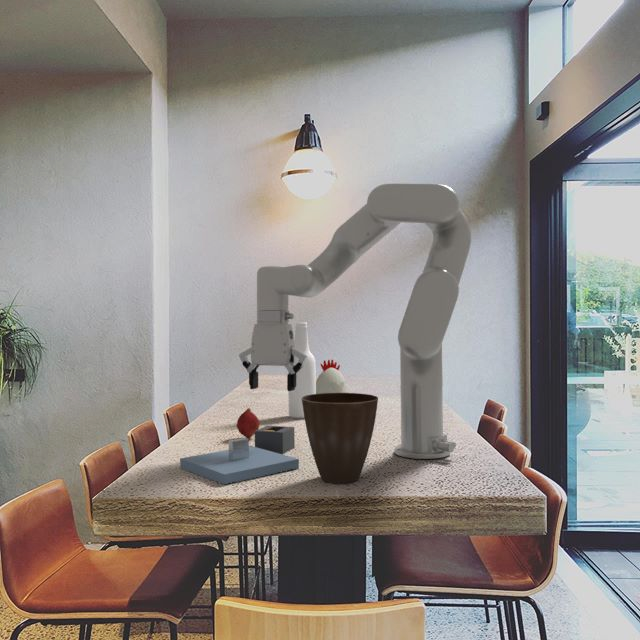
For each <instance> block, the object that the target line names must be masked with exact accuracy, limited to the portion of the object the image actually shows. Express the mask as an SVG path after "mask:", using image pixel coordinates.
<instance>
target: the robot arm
mask: <svg viewBox="0 0 640 640" xmlns="http://www.w3.org/2000/svg"><path fill="white" fill-rule="evenodd" d="M459 201H460V200H459V197H458V195H457V193H456V192H455V190H453V189H452V188H451V187H449V186H447V185H444V184H439V183H384V184H383V183H382V184H380V185H377V186H376V187H374V188H373V189H372V190H371V191H370V193H369V194H368V196H367V200H366V204H364V205H363V206H362V207H361V208H360V209H359V210H358V211H356V212H355V213H354V214H353V215H352V216H350V217H349V218H348V219H347V220H346V221H345V222H343V223H342V224H341V225H340V226H339V227H338V228H337V229H336V230H335V232H334V234H333V235H332V237H331V240H330V242H329V244H328V245H327V246H326V248H325V249H324V250H323V251H322V252H321V253H320V254H319V255H318V256H317V257H316V258H315V259H314V260H312V261H311V262H310V263H309V264H308V265H306V264H295V265H289V266H277V265H276V266H275V265H274V266H273V265H271V266H267V265H265V266H261V267H259V268H258V269H257V272H256V323H254V325H253V329H252V330H253V331H252V336H251V344H250V345H251V346H250V348H248V349H246V350H244V351H242V352H239V355H238V357H239V359H240V361H241V363H242V364H241V365H242V366H243V367H244V368H245V369H246V371H247V373H248V385H249V388H250V390H255V389H258V388H259V372H258V369H259V367H260V366H271V367H273V366H274V367H277V366H278V367H282V366H283V367H285V369H286V370H287V371H289V374H288V373H287V377H286V378H287V379H286V381H287V382H286V385H287V386H286V388H287V389H286V391H292V390H295V387H296V373H298V371H299V370H300V369H301V368H302V367H303V365H304V363H305V361H306V359H307V355H305V354H303V353H302V352H300V351H298V350H296V349H295V334H294V329H293V324H292V323H289V322H290V320H293V319H294V313H291V312H290V310H289V296H294V297H300V298H314V297H317V296H318V295H320V294H321V293H322V292H324V291H325V290H326V289H327V288H328V287H330V286H331V285H332V284H334V282H336V280H338V279H339V278H340V277H341V276H342V275H343V274H345V273H346V272H347V270H349V268H351V267H352V266H353V265H354V264H355V263H357V262H358V260H359V259H360V258H361V257H363V255H364V254H366V253H367V252H368V251H369V250H370V249H371V248H373V247H374V246H375V245H376V244H377V243H378V242H380V241H381V240H382V239H383V238H384V237H386V236H387V235H388V234H389V233H390V232H392V231H393V230H394V229H395V228H397V227H398V226H399V224H401V223H405V224H406V223H407V224H408V223H410V224H413V223H414V224H424V225H426V226H427V227H428V228H429V229H430V230H431V233H432V236H433V237H432V243H431V246H430V249H429V252H428V255H427V259H426V261H425V265H424V268H423V269H422V272H421V273H420V275H419V276H418V277H417V279H416V281H415V283H414V286H413V288H412V290H411V294H410V297H409V299H408V303H407V306H406V309H405V312H404V315H403V317H402V320H401V323H400V326H399V329H398V333H397V334H398V335H397V341H398V345H399V348H400V349H399V351H400V352H399V353H400V356H399V357H400V358H399V359H400V362H399V364H400V368H399V369H400V370H399V371H400V385H399V386H400V388H399V389H400V439H401V440H400V444H399V445H395V447H394V454H395V455H397V456H399V457H403V458H407V459H414V460H415V459H416V460H433V459H441V458H442V459H443V458H446V457H448V456H450V455H451V453H453V452H454V449H456V447H457V445H456V442H453V441H448V435H447V434H444V418H443V417H444V412H443V411H444V406H443V405H444V404H443V395H444V394H443V385H444V384H443V341H444V338H445V336H446V332H447V330H448V328H449V324H450V321H451V320H452V319H451V318H452V316H453V313H454V310H455V308H456V305H457V304H456V303H457V301H458V298H459V293H460V287H459V284H460V281H461V279H462V275H463V272H464V271H465V270H464V269H465V265H466V262H467V259H468V256H469V253H470V248H471V242H472V232H471V230H472V229H471V227H470V223H469V220H468V219H467V217H466V214H464V212H463V211H462V209H460V202H459ZM249 356H250V359H251V360H250V361H251V362H250V361H249V359H248V357H249ZM295 356H296V357H298V358H299V361H298V363H297V364H296V365H294V362H295Z"/></svg>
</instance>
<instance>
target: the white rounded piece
mask: <svg viewBox="0 0 640 640" xmlns="http://www.w3.org/2000/svg"><path fill="white" fill-rule="evenodd" d="M326 361H327V362H326ZM337 365H338V366H337ZM320 366H321V367H320V368H321V370H322V372H321V373H320V374H319V375H318V377H317V379H316V394H320V393H350V391H349V388H348V385H347V382H346V379H345V377H344V375H343V374H342V373H341V372H340V371H339V370H340V367H341V365H340V364H338V362H337V361H336V362H334V359H331V360H330V359H328V360H325V359H324V360H323V364H322V363H320Z"/></svg>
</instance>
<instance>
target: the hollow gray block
mask: <svg viewBox="0 0 640 640" xmlns="http://www.w3.org/2000/svg"><path fill="white" fill-rule="evenodd" d="M295 442H296V441H295V426H284V425H283V426H282V425H281V426H280V425H266V426H263V427H261V428H259V429H258V430H256V431H255V434H254V447H257V448H261V449H264V450H268V451H272V452H275V453H279V454H283V455H285V454H286V453H287V451H288V452H289V451H291V450H293V449H294V448H295ZM285 452H286V453H285Z"/></svg>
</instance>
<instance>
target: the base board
mask: <svg viewBox="0 0 640 640" xmlns="http://www.w3.org/2000/svg"><path fill="white" fill-rule="evenodd" d="M179 464H180V465H179V467H180V469H182V470H184V471H188V472H190V473H192V474H196V475H199V476H201V477H203V478H206V479H208V478H209V480H211V479H212V480H211V481H213V480H215V481H214V482H216V481H217V482H216V483H219V482H220V483H219V484H221V483H223V484H222V485H224V484H227V485H229V484H228V483H231V484H233V483H232V482H236V483H238V482H237V481H240V482H244V481H243V480H245V481H248V480H247V479H249V480H252V478H254V479H257V478H256V477H258V478H262V477H261V476H263V477H266V476H265V475H267V476H270V474H272V475H274V474H273V473H276V474H278V473H277V472H281V471H285V472H287V471H286V470H290V469H294V470H296V469H295V468H299V469H300V460H299V458H297V457H293V456H289V455H286V454H279V453H275V452H272V451H268V450H264V449H261V448H257V447H255V446H252V445H249V458H245V459H240V460H235V461H232V460H229V449H226V450H225V449H224V450H220V451H214V452H209V453H203V454H197V455H193V456H187V457H186V456H185V457H181V458H179ZM290 471H291V470H290ZM281 473H282V472H281Z"/></svg>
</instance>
